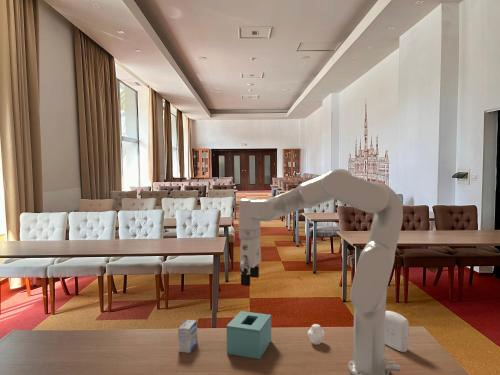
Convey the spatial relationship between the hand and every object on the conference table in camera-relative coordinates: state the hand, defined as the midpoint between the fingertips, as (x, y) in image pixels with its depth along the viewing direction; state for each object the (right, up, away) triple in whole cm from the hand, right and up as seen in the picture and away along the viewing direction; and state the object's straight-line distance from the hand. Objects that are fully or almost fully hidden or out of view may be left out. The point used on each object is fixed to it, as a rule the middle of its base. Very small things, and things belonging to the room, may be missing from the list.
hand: (250, 281), depth 141 cm
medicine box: (-22, -25, +2) cm, 33 cm away
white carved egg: (+24, -24, +5) cm, 34 cm away
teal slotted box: (0, -24, +2) cm, 24 cm away
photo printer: (+52, -24, +2) cm, 57 cm away
